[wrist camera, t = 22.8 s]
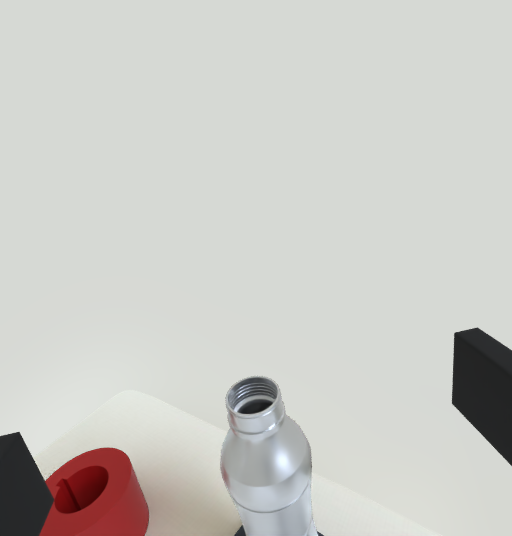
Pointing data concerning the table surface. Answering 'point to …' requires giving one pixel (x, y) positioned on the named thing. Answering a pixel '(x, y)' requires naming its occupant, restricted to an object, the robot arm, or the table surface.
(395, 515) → the table surface
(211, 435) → the table surface
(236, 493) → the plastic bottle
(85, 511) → the lever
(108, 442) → the table surface
